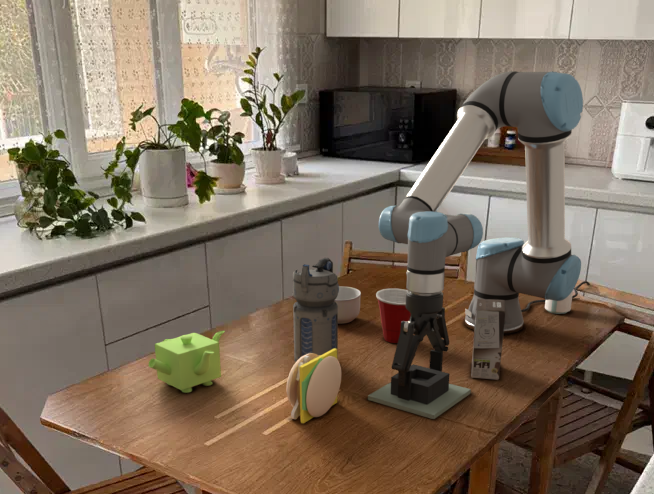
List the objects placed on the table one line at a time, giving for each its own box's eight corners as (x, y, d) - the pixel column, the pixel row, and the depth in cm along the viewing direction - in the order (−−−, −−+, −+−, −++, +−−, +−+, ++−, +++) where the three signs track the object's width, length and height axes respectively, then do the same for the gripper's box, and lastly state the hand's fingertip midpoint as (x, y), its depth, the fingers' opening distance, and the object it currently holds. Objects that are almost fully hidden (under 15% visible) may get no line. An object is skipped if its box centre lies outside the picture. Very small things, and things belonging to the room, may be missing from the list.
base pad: (407, 376, 177) (407, 362, 176) (470, 393, 168) (472, 378, 167) (367, 399, 165) (367, 384, 164) (433, 419, 157) (434, 403, 155)
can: (550, 305, 225) (554, 264, 220) (573, 309, 221) (579, 268, 217) (540, 311, 220) (545, 270, 215) (564, 316, 216) (570, 274, 211)
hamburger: (313, 395, 167) (313, 343, 162) (346, 405, 163) (346, 351, 158) (279, 416, 158) (277, 360, 153) (312, 426, 154) (312, 369, 149)
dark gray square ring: (412, 380, 172) (413, 364, 171) (448, 390, 167) (449, 373, 166) (390, 394, 165) (390, 376, 164) (427, 404, 161) (428, 387, 159)
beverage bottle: (348, 357, 188) (349, 255, 178) (324, 377, 177) (324, 269, 167) (311, 351, 192) (310, 250, 182) (285, 369, 181) (282, 263, 171)
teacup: (367, 318, 215) (368, 290, 212) (347, 329, 207) (347, 300, 204) (325, 309, 222) (325, 282, 219) (303, 320, 214) (303, 292, 210)
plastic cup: (396, 350, 192) (398, 303, 188) (366, 339, 200) (366, 293, 195) (426, 340, 199) (428, 294, 194) (395, 329, 206) (397, 285, 202)
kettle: (227, 370, 180) (224, 324, 176) (221, 396, 167) (218, 347, 163) (162, 371, 180) (157, 325, 175) (150, 397, 167) (145, 347, 162)
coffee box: (499, 380, 175) (506, 311, 168) (470, 378, 176) (475, 309, 170) (499, 365, 183) (505, 299, 177) (471, 363, 184) (477, 297, 178)
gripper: (438, 274, 169) (433, 367, 177) (375, 302, 151) (373, 403, 159) (469, 280, 164) (462, 374, 173) (409, 309, 146) (404, 412, 155)
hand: (420, 388), depth 166 cm, fingers open, 12 cm apart
